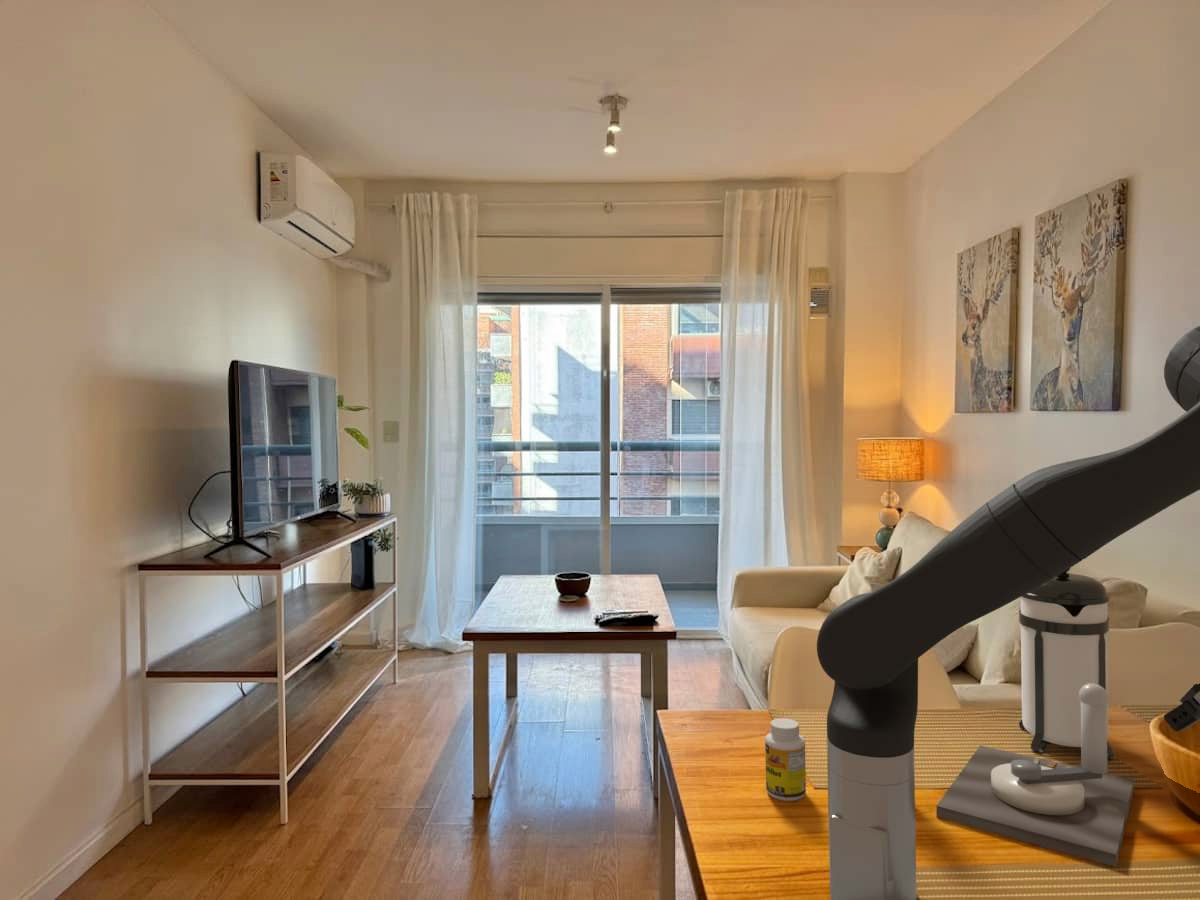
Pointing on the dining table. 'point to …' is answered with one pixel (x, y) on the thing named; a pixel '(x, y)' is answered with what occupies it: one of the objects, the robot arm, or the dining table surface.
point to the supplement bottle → (785, 761)
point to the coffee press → (1062, 656)
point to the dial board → (1075, 834)
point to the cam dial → (1061, 787)
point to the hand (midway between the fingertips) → (1172, 723)
